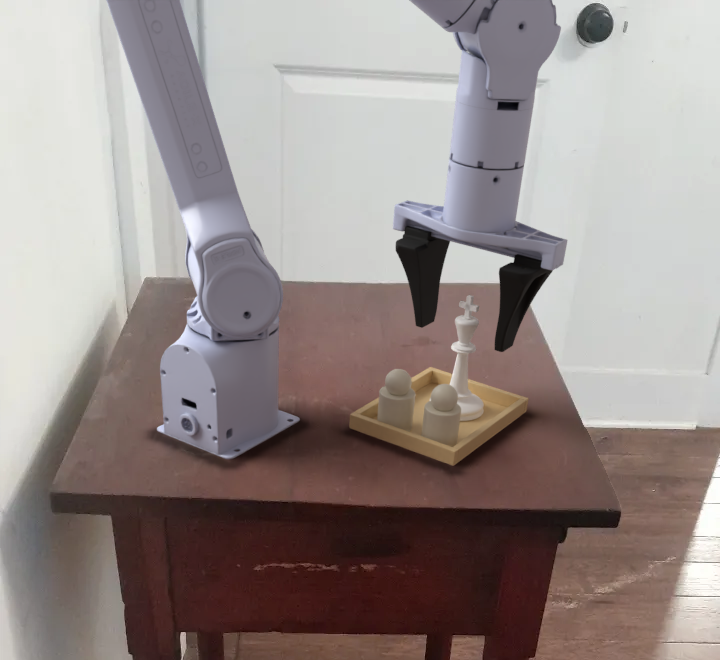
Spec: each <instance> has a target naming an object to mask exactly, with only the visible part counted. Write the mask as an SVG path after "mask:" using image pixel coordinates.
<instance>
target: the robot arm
mask: <svg viewBox="0 0 720 660" xmlns="http://www.w3.org/2000/svg"><path fill="white" fill-rule="evenodd" d="M408 1H409V2H411V4H413V5H414V6H416V8H417V9H419V10H420V11H422V12H423V13H424V14H425V15H426V16H428V17H429V18H430V19H431V20H432V21H433V22H435V24H437V25H438V26H439V27H440V28H442V29H443V30H444V31H445V32H447V33H452V35H453V38H454V41H455V43H456V45H457V47H458V48H459V49H460V50H461V54H460V55H461V56H460V65H459V72H458V81H457V88H456V93H455V101H454V102H455V103H454V111H453V119H452V129H451V138H450V148H449V154H448V155H449V156H448V166H447V174H446V183H445V192H444V200H443V201H444V203H443V205H436V204H429V203H422V202H417V201H412V200H404V201H401V202H398V203H396V204H394V209H393V221H392V230H394V231H398V232H403V234H402V238H400V239H397V240H396V241H395V252H396V254H397V256H398V258H399V260H400V262H401V266H402V268H403V270H404V273H405V276H406V278H407V283H408V286H409V290H410V295H411V300H412V307H413V313H414V322H415V326H416V327H418V328H421V329H422V328H424V327H426V326H428V325H431V324H433V323H434V322H435V319H436V315H437V312H438V303H439V295H440V286H441V277H442V272H443V268H444V266H445V265H444V264H445V260H446V256H447V253H448V250H449V246H450V243H456V244H459V245H463V246H466V247H472V248H475V249H478V250H483V251H486V252H490V253H494V254H498V255H502V256H506V257H509V258H513V262H512V261H511V262H509V263H507V264H505V265H503V266H501V267H499V269H498V277H499V278H498V279H499V310H498V311H499V312H498V319H497V324H496V330H495V336H494V351H495V352H499V353H504V352H505V351H507V350H508V349H510V348H512V347H513V346H514V343H515V339H516V337H517V334H518V332H519V329H520V327H521V324H522V322H523V320H524V317H525V315H526V314H527V312H528V309H529V308H530V306H531V304H532V303H533V301H534V299H535V297H536V296H537V294H538V293H539V291H540V290H541V288H542V286H543V285H544V284H545V282H546V281H547V279H548V278H549V277H550V275H551V274H552V273H553V271H554V270H557V269H559V268H560V267H561V266H563V265H564V262H565V256H566V250H567V245H568V239H567V238H563V237H559V236H555V235H552V234H549V233H547V232H544V231H543V230H540V229H537V228H534V227H532V226H529V225H527V224H525V223H522V222H519V221H517V214H518V208H519V202H520V194H521V188H522V181H523V174H524V168H525V163H526V156H527V150H528V144H529V138H530V130H531V125H532V117H533V112H534V104H535V100H536V99H535V98H536V89H537V84H538V76H539V71H540V70H541V68H542V66H543V65H544V64H545V63H546V61H547V60H548V59H549V58H550V56H551V55H552V53H553V52H554V50H555V48H556V46H557V44H558V41H559V38H560V34H561V31H562V26H561V25H559V24H558V23H557V7H556V4H553V0H408ZM105 2H106V4H107V8H108V10H109V14H110V15H111V19H112V21H113V24H114V28H115V30H116V33H117V36H118V39H119V42H120V44H121V48H122V50H123V53H124V56H125V59H126V62H127V64H128V67H129V71H130V73H131V76H132V79H133V82H134V84H135V88H136V91H137V93H138V96H139V99H140V102H141V104H142V108H143V110H144V113H145V116H146V120H147V122H148V125H149V127H150V131H151V134H152V136H153V140H154V142H155V145H156V148H157V150H158V153H159V157H160V159H161V162H162V165H163V167H164V171H165V173H166V176H167V180H168V182H169V186H170V188H171V191H172V193H173V197H174V200H175V202H176V205H177V208H178V212H179V214H180V217H181V220H182V223H183V225H184V229H185V230H184V231H185V234H186V245H185V252H184V253H185V255H184V261H185V262H184V263H185V268H186V271H187V274H188V277H189V278H190V280H191V281H192V284H193V288H194V290H195V293H196V296H195V298H194V299H193V301H192V303H191V305H190V308H189V309H188V310H187V311H186V325H185V328H184V330H183V332H182V334H181V336H179V338H178V339H177V340H176V341H174V342H173V343H172V344H171V345H169V346H168V347H167V348H166V349H165V350H164V352H163V354H162V356H161V359H160V365H159V374H160V390H161V402H162V405H161V406H162V416H163V417H162V419H163V424H161V425H159V426H158V427H156V431H157V432H158V433H160V434H163V435H164V436H165V435H166V436H167V437H170V438H173V439H175V440H178V441H180V442H182V443H185V444H187V445H190V446H193V447H195V448H198V449H200V450H202V451H205V452H207V453H210V454H212V455H214V456H217V457H220V458H222V459H224V460H233V459H235V458H237V457H239V456H240V455H242V454H244V453H246V452H248V451H249V450H251V449H253V448H255V447H256V446H258V445H260V444H262V443H264V442H266V441H267V440H269V439H271V438H273V437H274V436H276V435H277V434H279V433H282V432H283V431H285V430H286V429H288V428H290V427H291V426H295V424H297V423H299V422H300V421H301V419H300V417H298V416H297V415H293V414H292V413H289V412H285V411H283V410H281V409H279V394H280V393H279V388H280V386H279V385H280V381H279V380H280V379H279V377H280V375H279V374H280V316H279V315H280V313H281V310H282V308H283V302H284V286H283V283H282V279H281V278H280V276H279V273H278V272H277V270H276V269H275V268H274V266H273V265H272V263H270V261H269V259H268V257H267V255H266V254H265V250H264V248H263V245H262V242H261V240H260V238H259V236H258V234H257V233H256V231H254V230H253V229H252V226H251V224H250V222H249V219H248V216H247V213H246V210H245V208H244V205H243V203H242V199H241V196H240V194H239V191H238V188H237V184H236V181H235V178H234V175H233V171H232V168H231V164H230V161H229V158H228V154H227V152H226V147H225V145H224V142H223V139H222V134H221V132H220V128H219V126H218V122H217V119H216V115H215V112H214V109H213V105H212V102H211V99H210V96H209V92H208V90H207V89H208V88H207V87H206V86H207V85H206V83H205V78H204V76H203V73H202V69H201V66H200V63H199V60H198V57H197V53H196V50H195V46H194V43H193V39H192V36H191V33H190V30H189V27H188V24H187V20H186V17H185V13H184V10H183V7H182V3H181V1H180V0H105Z"/></svg>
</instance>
